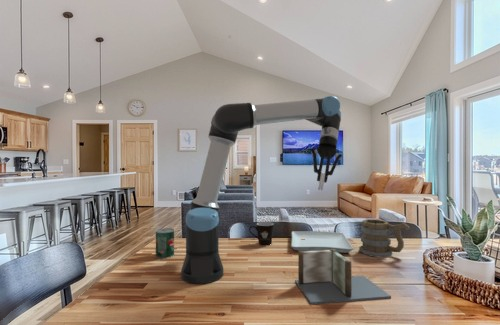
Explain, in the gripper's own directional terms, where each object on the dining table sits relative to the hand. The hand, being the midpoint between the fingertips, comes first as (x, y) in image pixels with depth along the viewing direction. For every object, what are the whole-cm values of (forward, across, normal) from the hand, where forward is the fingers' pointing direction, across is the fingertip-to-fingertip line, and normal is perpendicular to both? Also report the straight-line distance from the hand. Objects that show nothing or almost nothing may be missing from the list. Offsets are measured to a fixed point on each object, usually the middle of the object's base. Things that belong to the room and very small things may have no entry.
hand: (320, 188), depth 112 cm
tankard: (+15, +32, +26) cm, 44 cm away
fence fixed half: (+35, +4, -5) cm, 36 cm away
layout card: (+36, +11, -8) cm, 38 cm away
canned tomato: (+40, -60, +13) cm, 73 cm away
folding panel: (+36, +11, -10) cm, 39 cm away
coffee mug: (+22, -22, +34) cm, 46 cm away
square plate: (+16, +5, +35) cm, 39 cm away
